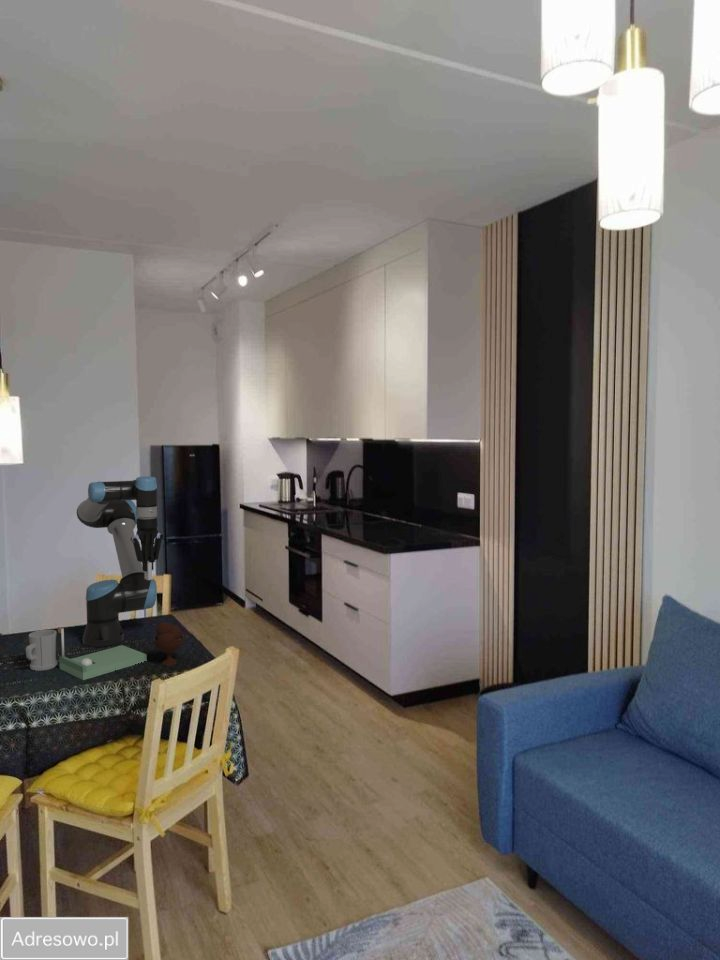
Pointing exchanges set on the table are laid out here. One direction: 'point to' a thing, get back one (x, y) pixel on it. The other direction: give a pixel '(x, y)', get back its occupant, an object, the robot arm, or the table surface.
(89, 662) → the ball
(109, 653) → the putting mat
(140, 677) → the table surface
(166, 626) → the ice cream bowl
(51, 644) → the cup
